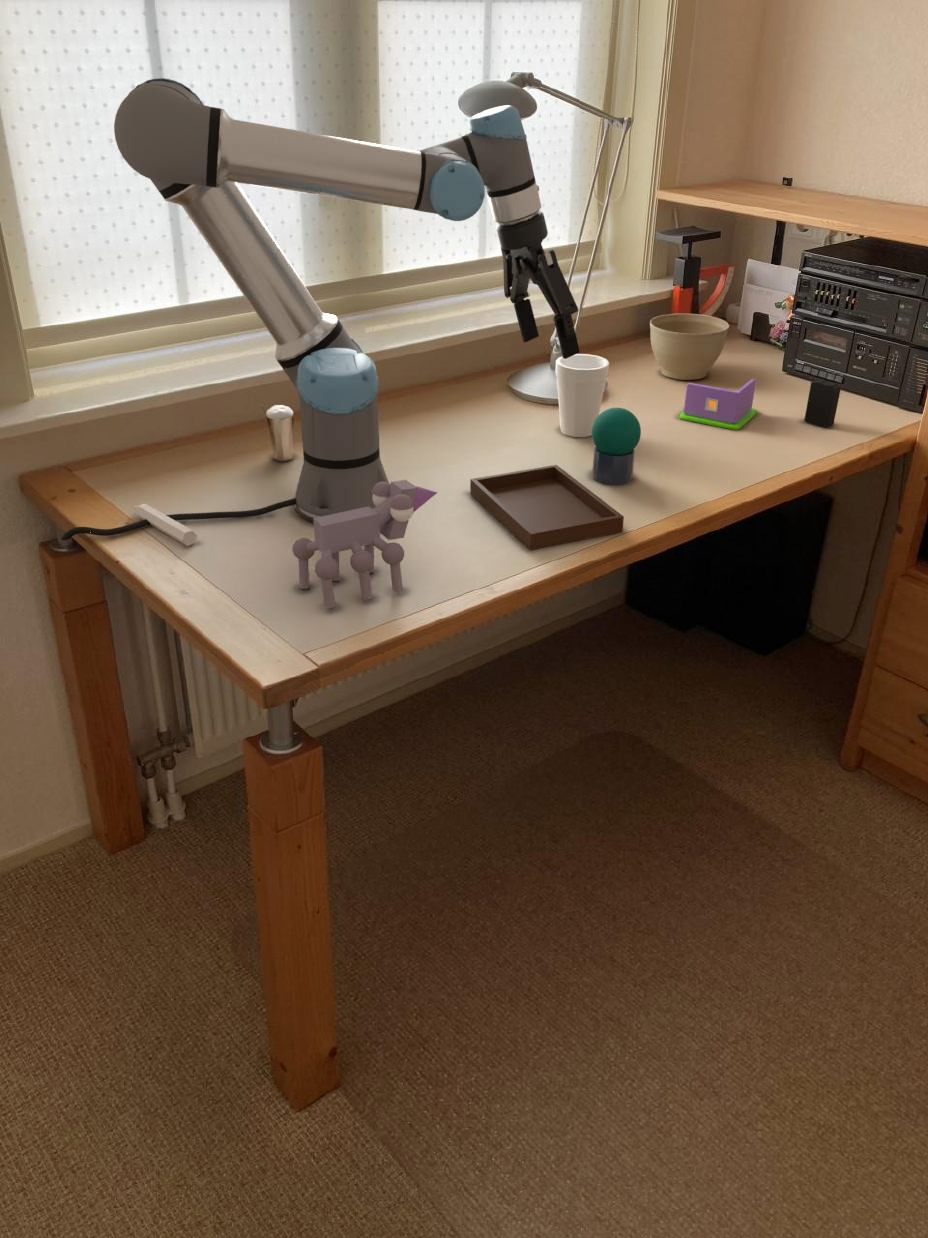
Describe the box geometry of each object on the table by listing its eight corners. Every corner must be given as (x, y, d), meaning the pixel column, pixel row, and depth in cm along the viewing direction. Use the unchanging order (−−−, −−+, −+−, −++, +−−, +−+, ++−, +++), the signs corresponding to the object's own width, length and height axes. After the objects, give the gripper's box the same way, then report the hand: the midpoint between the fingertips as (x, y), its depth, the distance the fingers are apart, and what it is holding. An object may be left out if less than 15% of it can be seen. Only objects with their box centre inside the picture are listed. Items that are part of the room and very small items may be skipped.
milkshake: (262, 456, 184) (256, 400, 179) (291, 450, 186) (287, 395, 181) (270, 465, 181) (265, 408, 176) (300, 459, 183) (296, 404, 178)
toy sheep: (421, 551, 154) (420, 464, 147) (457, 583, 146) (457, 491, 139) (291, 582, 145) (284, 491, 138) (321, 618, 137) (314, 522, 130)
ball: (605, 467, 171) (609, 420, 167) (581, 450, 177) (584, 404, 173) (647, 460, 174) (652, 413, 170) (622, 443, 180) (626, 398, 176)
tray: (529, 550, 154) (530, 534, 153) (470, 493, 171) (470, 478, 170) (622, 532, 160) (624, 516, 158) (555, 479, 177) (556, 464, 175)
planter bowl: (725, 366, 230) (732, 316, 224) (717, 389, 216) (725, 336, 211) (651, 359, 234) (656, 309, 228) (639, 381, 221) (644, 329, 215)
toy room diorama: (738, 430, 196) (743, 395, 193) (677, 418, 202) (681, 383, 198) (758, 412, 205) (764, 377, 202) (699, 400, 211) (704, 366, 207)
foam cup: (603, 423, 199) (608, 354, 193) (604, 441, 191) (609, 370, 185) (552, 420, 200) (556, 353, 194) (551, 438, 192) (555, 368, 186)
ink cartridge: (833, 425, 199) (841, 384, 195) (827, 428, 198) (835, 387, 194) (810, 418, 202) (817, 378, 198) (803, 421, 201) (811, 380, 197)
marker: (135, 515, 165) (193, 547, 155) (123, 512, 163) (181, 544, 154) (140, 499, 165) (198, 530, 155) (129, 496, 163) (187, 527, 153)
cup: (605, 487, 174) (607, 458, 171) (585, 472, 179) (587, 444, 176) (639, 481, 176) (642, 452, 174) (619, 466, 181) (621, 439, 179)
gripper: (580, 215, 153) (610, 352, 164) (503, 201, 173) (534, 324, 184) (536, 234, 151) (569, 372, 162) (463, 217, 171) (497, 341, 183)
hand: (550, 346), depth 173 cm, fingers open, 13 cm apart
